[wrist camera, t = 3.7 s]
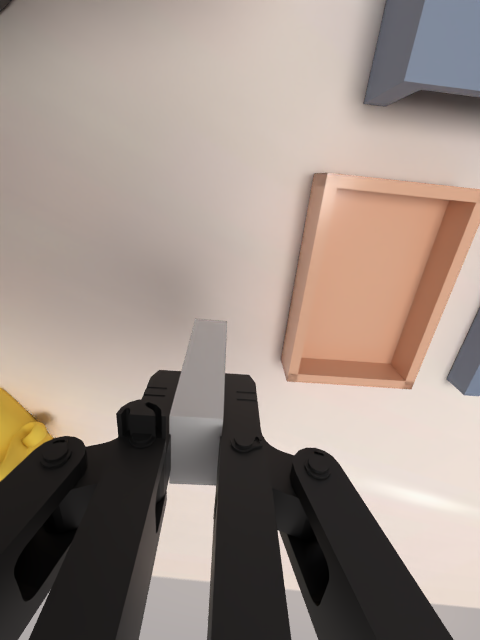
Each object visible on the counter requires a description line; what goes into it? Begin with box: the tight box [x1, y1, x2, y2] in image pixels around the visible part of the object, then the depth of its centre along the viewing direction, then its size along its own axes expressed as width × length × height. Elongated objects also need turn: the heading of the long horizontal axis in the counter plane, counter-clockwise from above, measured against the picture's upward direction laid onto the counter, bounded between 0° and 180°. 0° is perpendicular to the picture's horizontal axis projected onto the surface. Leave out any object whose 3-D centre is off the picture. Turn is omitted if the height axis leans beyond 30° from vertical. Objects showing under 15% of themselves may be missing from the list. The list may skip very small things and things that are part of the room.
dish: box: [281, 173, 480, 389], centre depth 24 cm, size 11×16×4 cm
